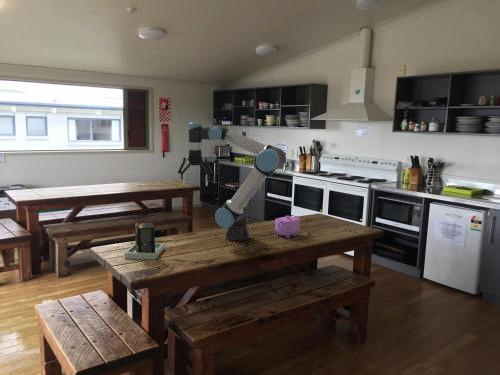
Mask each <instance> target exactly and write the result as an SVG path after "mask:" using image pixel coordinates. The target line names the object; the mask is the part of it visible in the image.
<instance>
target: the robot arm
mask: <svg viewBox="0 0 500 375" xmlns="http://www.w3.org/2000/svg"><path fill="white" fill-rule="evenodd" d="M202 125H203V124H202V123H201V122H189V124H188V157H183V158H182V160H183V161H182V163H181V165H180V166H179V169H178V171H177V173H178V174H180V180H182V186H186V174H185V172H186V171H187V170H188V169H189V168H190V167H191V166H197V167H198V166H200V168H201V169H202V170H203V172H205V173H206V174H205V187H208V185H209V184H208V183H209V181H210V179H211V178H210V177H211V176H210V175H212V174H213V173H214V172H213V170H212V168H211V165H210V164H209V162H208V158H207V157H205V158H203V156H202V155H203V154H202V153H203V152H202V151H203V150H202V145H203V144H202V140H205V141H206V140H208V141H219V140H221V141H223V142H224V143H228V144H230V145H232V146H235V147H237V148H239V149H241V150H244V151H245V152H248V153H251V154H252V155H255V156H256V159H255V162H254V163H253V169H252V171H251V172H250V173H249V174H248V176H247V177H246V179H245V180H244V181H243V183H242V184H241V185H240V187H239V188H238V189H237V191H236V192H235V193H234V195H233V196H232V198H231V199H227V200H226V202H224V204H222V207H220V208H218V209H217V210H216V211H215V213H214V214H215V215H214V217H215V218H214V219H215V222H216V223H217V225H219V227H221V228H224V229H226V230H225V235H224V236H225V239H226V240H228V241H231V242H232V241H233V242H243V241H244V242H245V241H247V240H250V238H251V234H250V230H249V227H248V209H249V208H248V203H249V201H250V200H251V199H252V197H253V196H254V195H255V193H256V192H257V190H258V189H260V187H261V185H262V184H263V183H264V182H265V180H266V179H267V178H271V177H272V176H273V174H274V173H275V172H276V170H277V169H280V168H282V167H283V166H284V165H285V163H286V161H287V155H286V153H285V151H284V150H283V149H281V148H279V147H276V146H273V145H271V144H267V145H266V144H264V143H262V142H260V141H257V140H255V139H252V138H250V137H247V136H245V135H244V134H243V135H242V134H240V133H239V132H236V131H233V130H231V129H229V128H228V127H227V126H224V125H220V126H202ZM187 161H188V162H189V163H188V164H187V165H186V166H185V164H186V162H187ZM202 161H203V162H204V164H205V166H204V164H203V163H202ZM184 166H185V167H184ZM183 168H184V169H183Z"/></svg>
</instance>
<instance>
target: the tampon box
mask: <svg viewBox="0 0 500 375" xmlns="http://www.w3.org/2000/svg"><path fill="white" fill-rule="evenodd" d="M134 228H135V229H134V232H135V235H134V236H135V243H136V252H137V253H154V252H155V243H156V240H155V239H156V236H155V235H156V232H155V230H156V229H155V226H154V223H153V222H138V223H135V224H134Z"/></svg>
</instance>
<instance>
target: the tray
mask: <svg viewBox="0 0 500 375" xmlns="http://www.w3.org/2000/svg"><path fill="white" fill-rule="evenodd" d="M164 249H165V243H162V242H161V243H158V242H155V252H154V253H137V252H136V242H135V243H134V244H132V245H131V246H130V247H129V248H128V249H127V250H126V251H125V252H124V259H131V260H132V259H135V260H137V259H138V260H156V259H157V258H158V257H159V255H160V254H161V253H162V252H163V251H164Z"/></svg>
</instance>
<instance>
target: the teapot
mask: <svg viewBox="0 0 500 375" xmlns="http://www.w3.org/2000/svg"><path fill="white" fill-rule="evenodd" d="M300 217H301V215H298V216H296V217H293V216H290V215H285V216H282V217H278V218H275V221H274V222H275V224H274V226H275V227H274V233H275V234H277V235H278V236H280V237H281V236H285V238H286V239H290V236H292V237H296V236H297V235H298V234H300V233H301V219H300Z"/></svg>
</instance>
